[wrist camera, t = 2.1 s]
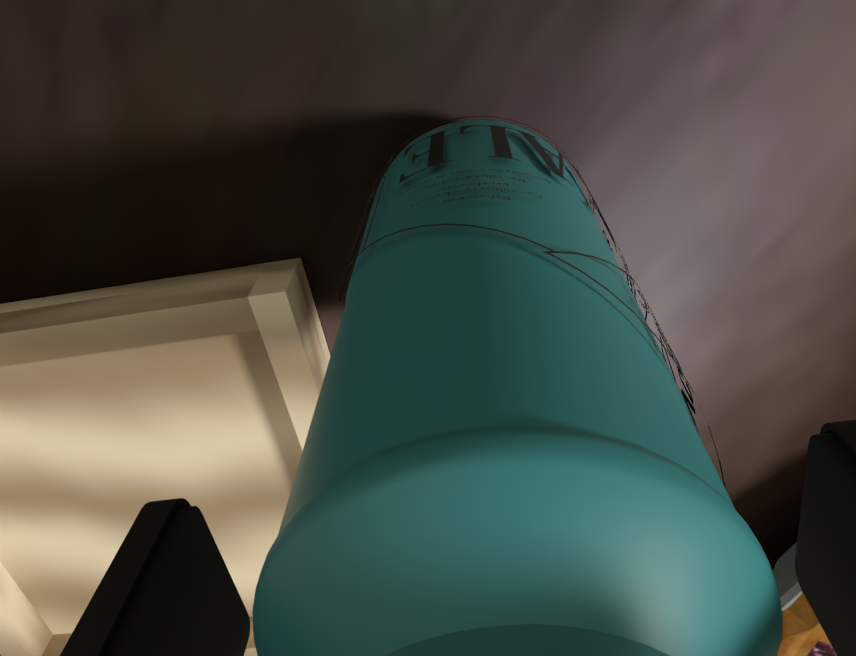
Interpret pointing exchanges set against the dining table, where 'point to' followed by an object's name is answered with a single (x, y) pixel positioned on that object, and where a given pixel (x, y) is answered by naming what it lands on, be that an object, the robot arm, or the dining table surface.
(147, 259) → the dining table surface
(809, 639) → the pie
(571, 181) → the beverage bottle
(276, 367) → the square tray
